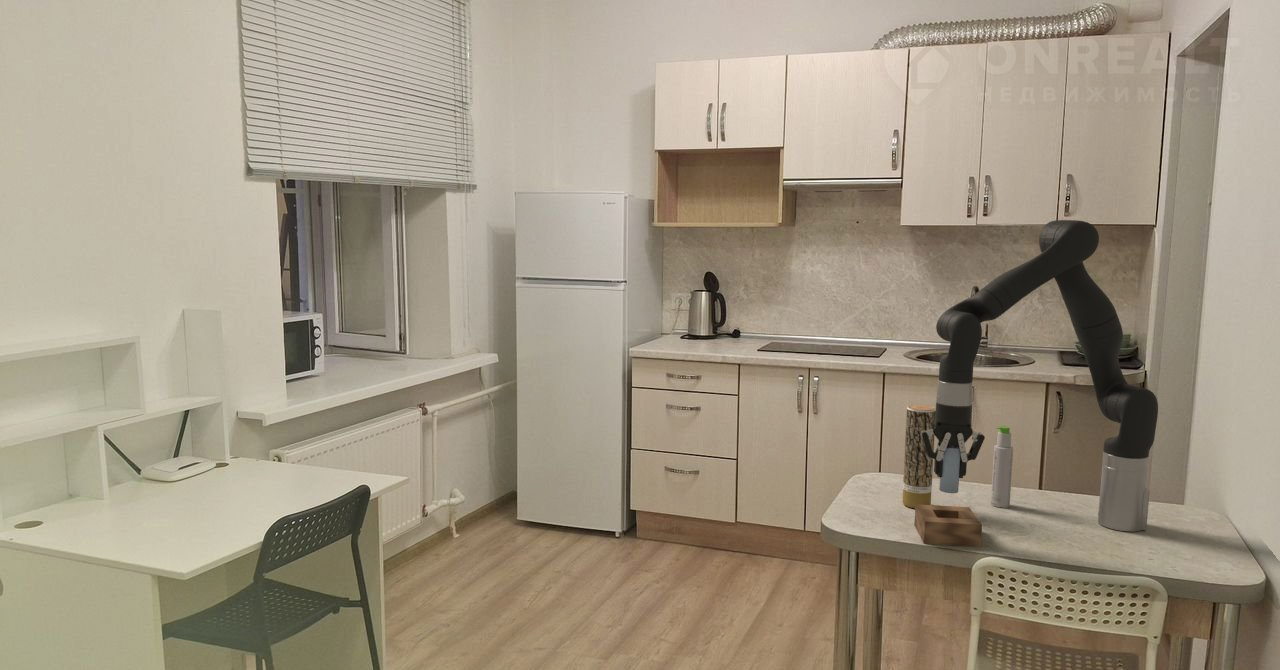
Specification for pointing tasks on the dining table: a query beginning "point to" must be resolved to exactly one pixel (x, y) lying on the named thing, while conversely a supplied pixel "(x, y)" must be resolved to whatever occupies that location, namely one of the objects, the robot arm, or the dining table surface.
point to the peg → (950, 470)
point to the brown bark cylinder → (918, 456)
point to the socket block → (948, 525)
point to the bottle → (1002, 469)
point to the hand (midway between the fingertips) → (949, 476)
